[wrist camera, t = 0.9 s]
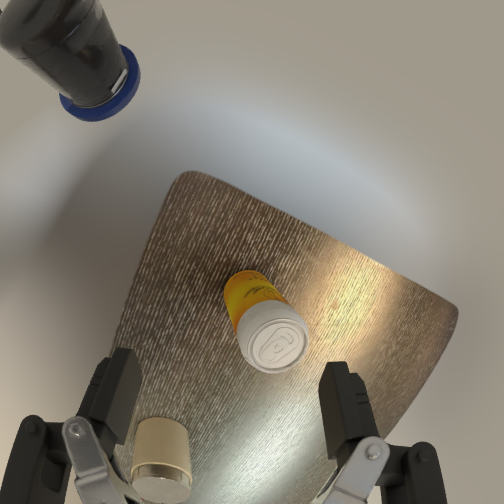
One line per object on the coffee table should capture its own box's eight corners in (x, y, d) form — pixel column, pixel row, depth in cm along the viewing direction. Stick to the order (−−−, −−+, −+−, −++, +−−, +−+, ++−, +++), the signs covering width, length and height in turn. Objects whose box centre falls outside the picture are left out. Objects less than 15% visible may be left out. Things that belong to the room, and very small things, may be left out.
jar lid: (124, 480, 28) (123, 491, 26) (146, 457, 28) (145, 470, 26) (173, 497, 31) (174, 508, 28) (201, 476, 30) (202, 489, 28)
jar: (128, 436, 38) (120, 488, 27) (150, 408, 38) (144, 465, 26) (173, 455, 41) (175, 506, 29) (198, 430, 40) (205, 485, 29)
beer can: (278, 289, 38) (326, 341, 24) (245, 321, 38) (276, 387, 24) (246, 258, 36) (282, 299, 22) (213, 292, 36) (227, 351, 22)
